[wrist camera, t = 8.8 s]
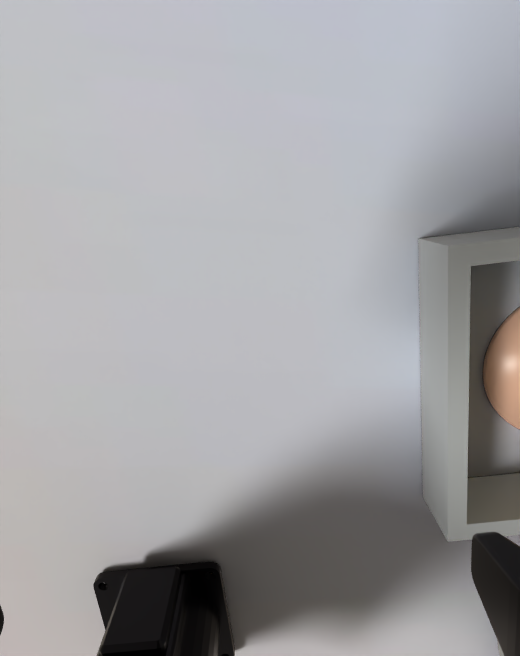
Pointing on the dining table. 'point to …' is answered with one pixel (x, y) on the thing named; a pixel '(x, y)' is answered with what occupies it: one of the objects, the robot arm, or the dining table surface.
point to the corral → (464, 384)
